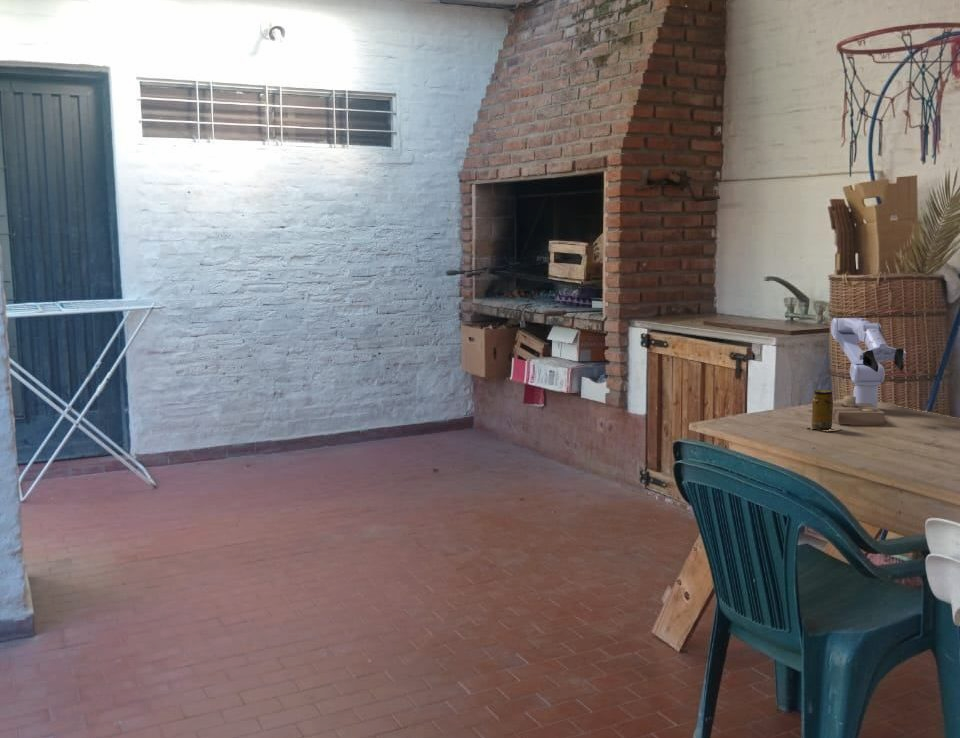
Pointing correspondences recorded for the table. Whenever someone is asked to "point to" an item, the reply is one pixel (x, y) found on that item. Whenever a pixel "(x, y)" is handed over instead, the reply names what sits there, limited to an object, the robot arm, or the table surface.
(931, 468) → the table surface
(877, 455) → the table surface
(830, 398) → the condiment
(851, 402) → the peg
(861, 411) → the board
